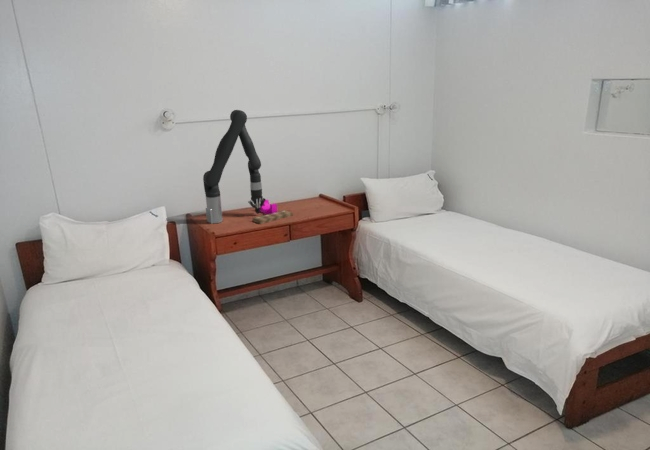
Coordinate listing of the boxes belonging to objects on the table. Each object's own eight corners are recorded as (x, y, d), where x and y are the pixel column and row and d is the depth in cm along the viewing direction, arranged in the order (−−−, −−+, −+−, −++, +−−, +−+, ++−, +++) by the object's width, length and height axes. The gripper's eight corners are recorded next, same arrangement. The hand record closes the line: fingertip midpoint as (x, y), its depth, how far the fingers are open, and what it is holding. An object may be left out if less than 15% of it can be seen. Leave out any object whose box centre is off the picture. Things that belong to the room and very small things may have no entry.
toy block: (259, 211, 328) (258, 200, 325) (267, 209, 331) (266, 199, 329) (269, 216, 316) (268, 205, 313) (277, 214, 319) (276, 204, 317)
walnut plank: (260, 224, 299) (260, 220, 298) (252, 221, 305) (252, 217, 304) (292, 215, 315) (292, 212, 314) (284, 213, 321) (284, 210, 321)
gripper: (250, 190, 305) (252, 216, 310) (267, 187, 313) (269, 212, 318) (244, 189, 310) (246, 214, 315) (261, 185, 318) (262, 210, 324)
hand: (257, 213), depth 317 cm, fingers closed
